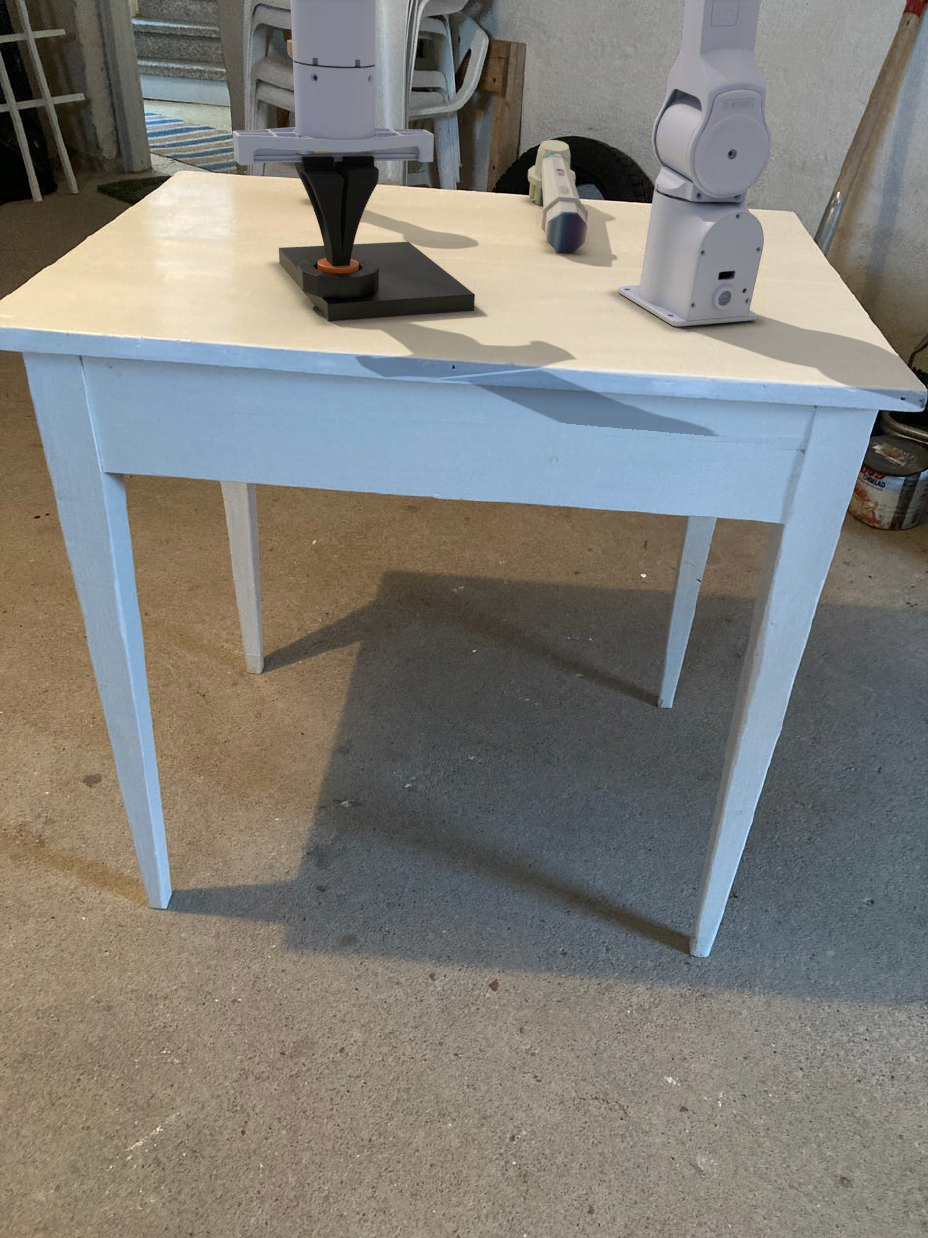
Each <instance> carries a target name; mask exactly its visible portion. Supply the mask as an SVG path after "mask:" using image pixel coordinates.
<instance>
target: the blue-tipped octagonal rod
mask: <svg viewBox="0 0 928 1238" xmlns="http://www.w3.org/2000/svg"><path fill="white" fill-rule="evenodd" d="M576 178H577V177H576V173H575V171H573V170H572V169H571V150H570V146H569V144H568V143H566V142H565V141H561V140H557V139H548V140H544V141H542V142H541V143H540V145H539V147H538V148H537V155H536V159H535V165H532V166H531V167H530V168H529V169H528V170H527V180H528V182H529V192H528V193H529V194H528V195H529V196H528V197H529V200H535V204H536V205H539V206H542V207H543V208H542V214H541V215H542V216H541V225H540V227H541V230H542V231H543V232H544V233H545V239H546V242H547V243H548V244H549V246H551V247H552V248H553V250H554V251H555V252H556V253H564V254H573V253H574V252H576V251H577V250H578V249H579V248H581V247H582V246H583V245H584V244H585V243H586V237H587V230H588V224H587V223H588V216H589V210H588V209H587V208H586V206H585V205H584V204H583V203H582V201H581V199H580V196H579V195H580V194H579V192H578V189H577V187H576Z"/></svg>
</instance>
